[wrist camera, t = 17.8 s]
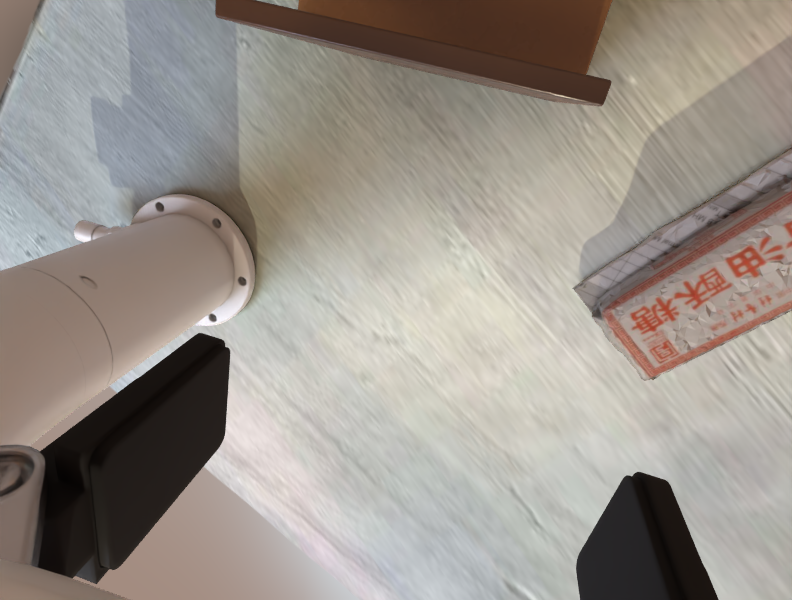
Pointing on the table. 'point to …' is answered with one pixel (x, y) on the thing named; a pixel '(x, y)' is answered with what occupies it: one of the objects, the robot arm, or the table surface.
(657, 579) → the robot arm
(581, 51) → the step shelf
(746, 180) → the packaged product
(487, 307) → the table surface
